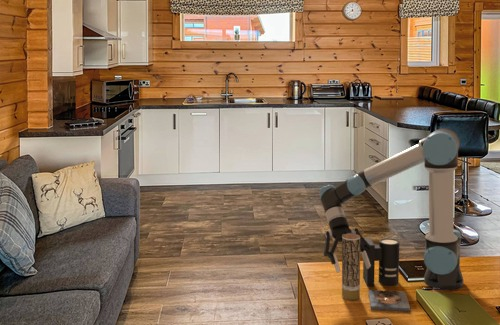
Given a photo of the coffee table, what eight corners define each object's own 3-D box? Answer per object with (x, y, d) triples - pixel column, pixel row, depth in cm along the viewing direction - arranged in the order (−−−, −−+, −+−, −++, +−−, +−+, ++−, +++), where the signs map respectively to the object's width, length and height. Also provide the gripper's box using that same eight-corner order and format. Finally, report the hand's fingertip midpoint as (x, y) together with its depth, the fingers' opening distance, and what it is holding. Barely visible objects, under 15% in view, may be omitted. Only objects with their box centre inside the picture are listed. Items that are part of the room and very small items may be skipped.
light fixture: (401, 286, 200) (402, 245, 197) (367, 287, 201) (367, 245, 198) (395, 277, 210) (396, 237, 207) (362, 277, 211) (363, 237, 208)
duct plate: (405, 295, 192) (405, 291, 192) (409, 312, 179) (410, 307, 179) (368, 293, 195) (368, 289, 195) (370, 309, 181) (370, 305, 181)
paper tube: (359, 301, 188) (360, 239, 184) (341, 300, 190) (341, 238, 186) (359, 293, 195) (360, 233, 191) (342, 292, 196) (342, 233, 192)
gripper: (361, 221, 206) (378, 269, 194) (307, 227, 200) (321, 277, 188) (367, 212, 200) (386, 261, 188) (311, 218, 194) (327, 269, 182)
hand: (353, 269), depth 188 cm, fingers open, 12 cm apart
